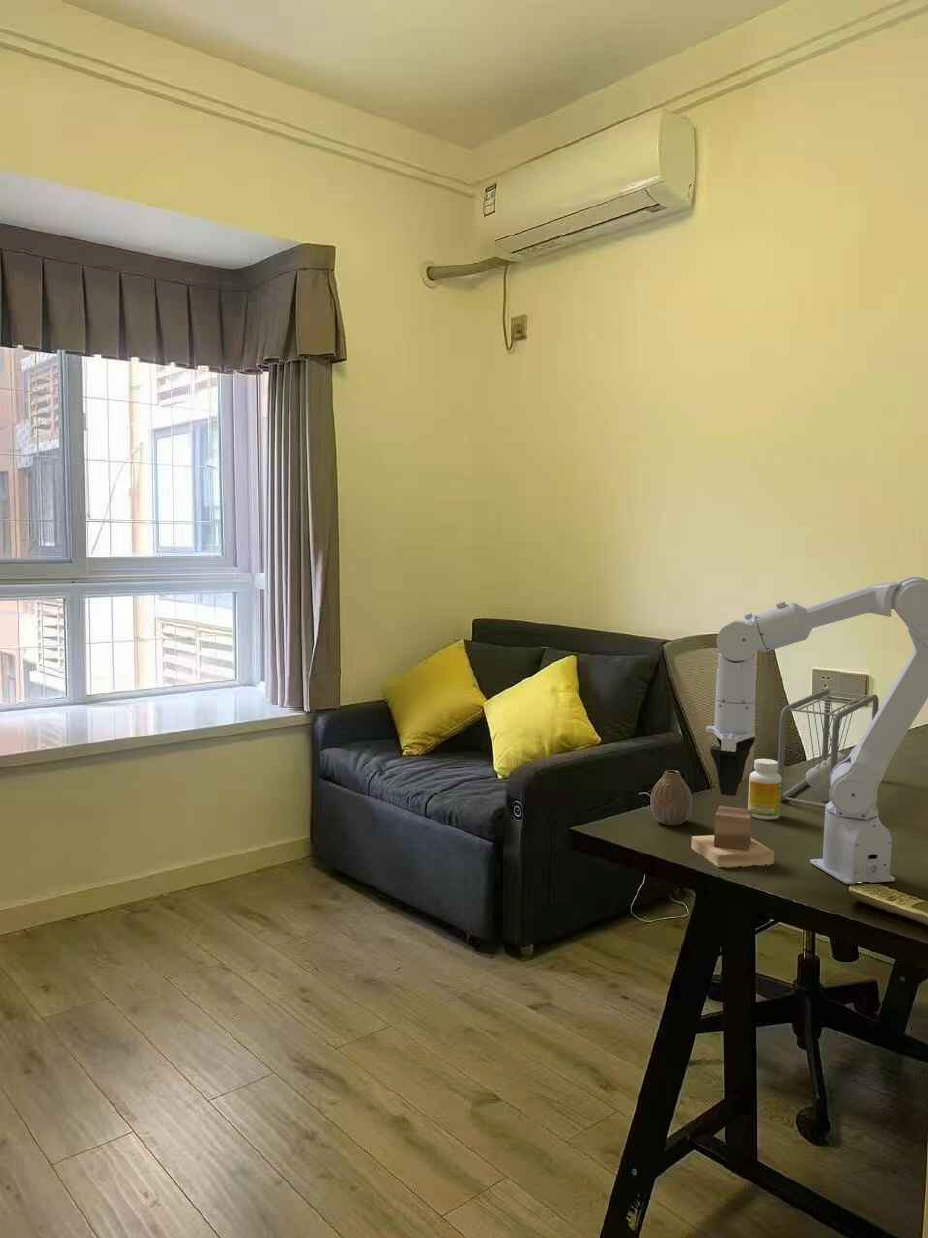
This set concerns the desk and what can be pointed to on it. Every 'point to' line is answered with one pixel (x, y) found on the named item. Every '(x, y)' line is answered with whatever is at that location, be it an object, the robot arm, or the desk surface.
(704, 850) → the oak block
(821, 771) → the newton's cradle
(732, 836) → the walnut cube
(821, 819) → the desk surface
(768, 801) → the supplement bottle
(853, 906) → the desk surface
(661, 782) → the vase
